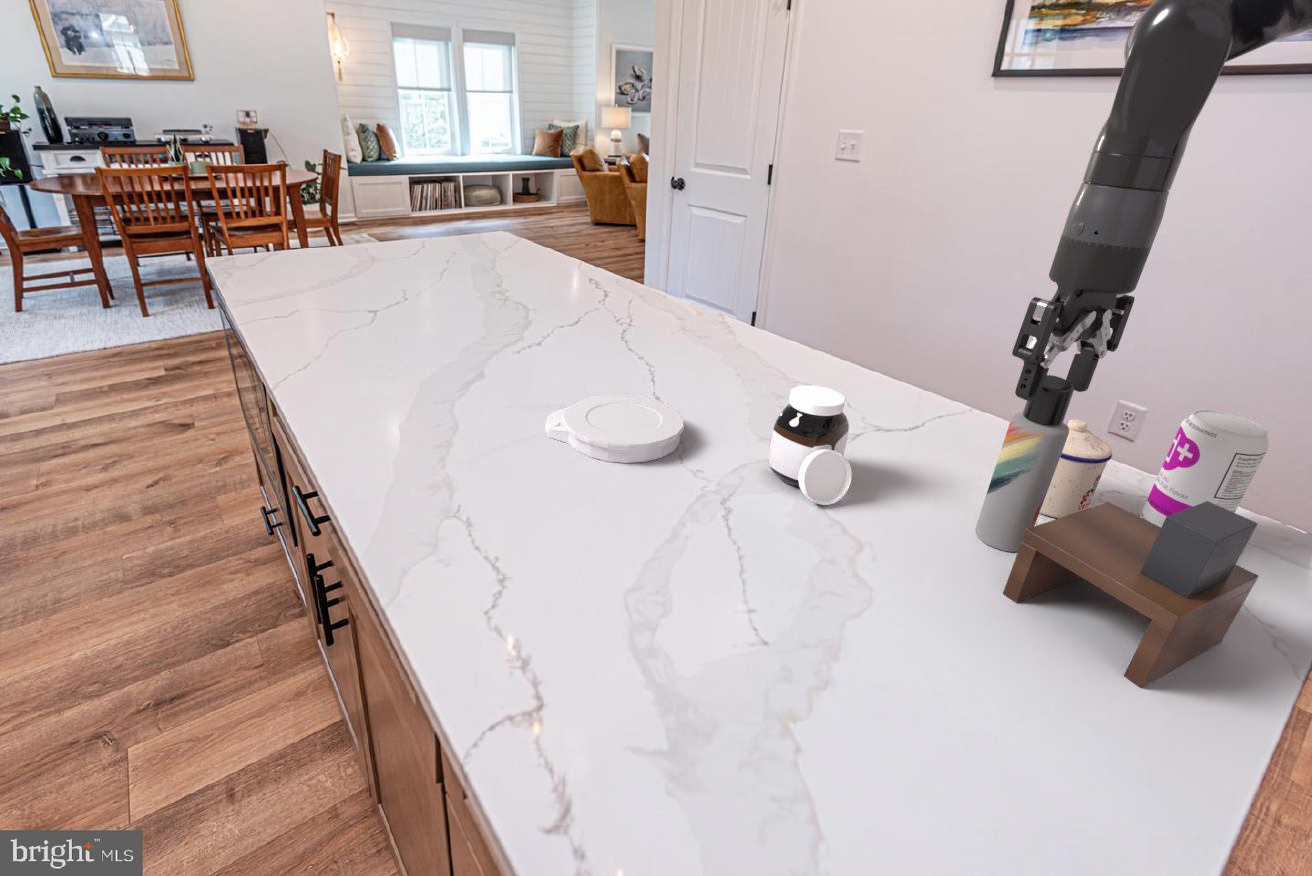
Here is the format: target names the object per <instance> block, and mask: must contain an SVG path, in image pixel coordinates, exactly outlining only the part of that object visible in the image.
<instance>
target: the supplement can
mask: <svg viewBox="0 0 1312 876" xmlns="http://www.w3.org/2000/svg"><path fill="white" fill-rule="evenodd" d="M1268 433H1269V430H1268V429H1267V428H1266V427H1265V426H1263V425H1261V424H1260V423H1258V422H1256V421H1253V420H1252V419H1249V418H1246V417H1242V416H1239V415H1236V414H1232V413H1228V412H1224V411H1218V410H1211V409H1210V410H1209V409H1198V410H1194V411H1193V413H1192V414H1191V415H1189V416H1187V417H1186V418H1185V419H1184V420H1182V421H1181V423H1180V426H1179V428H1178V430H1177V432H1176V435H1175V437H1174V439H1173V441H1172V444H1171V445H1170V448H1169V450H1168V452H1167V453H1166V456H1165V458H1164V460H1163V463H1162V466H1161V468H1160V470H1159V473H1158V474H1157V476H1156V479H1155V481H1154V484H1153V485H1152V488H1151V490H1150V493H1149V495H1148V497H1147V498H1146V501H1145V504H1144V506H1143V508H1142V510H1141V512H1140V515H1139V517H1140V518H1142V519H1144V520H1147V521H1149V522H1151V523H1153V524H1155V525H1157V526H1159V527H1162V525H1163V523H1164V521H1165V519H1166V517H1167V516H1170V515H1172V514H1175V513H1178V512H1180V511H1183V510H1185V509H1188V508H1191V507H1193V506H1196V505H1198V504H1201V503H1204V502H1206V501H1208V502H1211V503H1213V504H1215V505H1218V506H1220V507H1222V508H1224V509H1227V510H1229V511H1231V512H1233V513H1236V511H1237V509H1238V507H1239V505H1240V503H1241V502H1242V499H1243V498H1244V496H1245V493H1246V491H1247V490H1248V488H1249V486H1250V484H1251V482H1252V480H1253V479H1254V476H1255V474H1256V472H1257V471H1258V469H1259V467H1260V465H1261V463H1262V461H1263V460H1264V457H1265V456H1266V453H1267V452H1268V449H1269V446H1270V443H1269V439H1268Z"/></svg>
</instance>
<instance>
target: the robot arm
mask: <svg viewBox="0 0 1312 876" xmlns="http://www.w3.org/2000/svg"><path fill="white" fill-rule="evenodd" d="M1309 31H1312V0H1155V1H1153V3H1152V4H1150V5H1149V6H1148V7H1147V9H1146V10H1145V11H1144V12H1143V13H1142V14H1141V16H1139V18H1138V19H1137V20H1136V22H1134V24H1133V25H1132V27H1131V29H1130V30H1129V33H1128V35H1127V38H1126V40H1125V44H1124V48H1123V60H1124V67H1123V70H1122V73H1121V77H1120V78H1119V79H1120V80H1119V83H1118V86H1117V89H1116V93H1115V96H1114V99H1113V103H1112V106H1111V109H1110V113H1109V116H1108V117H1107V119H1106V120H1105V122H1104V124H1103V125H1102V127H1101V128H1100V131H1099V133H1098V135H1097V137H1096V139H1095V142H1094V145H1093V149H1092V151H1091V154H1090V156H1089V160H1088V163H1087V166H1086V168H1085V172H1084V175H1083V177H1082V178H1083V179H1082V182H1081V184H1080V186H1079V189H1078V191H1077V193H1076V195H1075V197H1074V200H1073V201H1072V203H1071V206H1070V208H1069V211H1068V214H1067V217H1066V219H1065V223H1064V226H1063V230H1062V233H1061V235H1060V238H1059V241H1058V245H1057V247H1056V251H1055V254H1054V257H1053V260H1052V263H1051V266H1050V270H1049V272H1048V278H1049V279H1050V281H1052V282H1053V283H1056V286H1057V289H1056V290H1055V293H1054V295H1053V297H1052V298H1051V299H1050V300H1047V299H1044V298H1041V297H1037V296H1034V297H1033V298H1031V300H1030V302H1029V304H1028V306H1027V309H1026V312H1025V314H1024V318H1023V320H1022V323H1021V326H1020V329H1019V332H1018V334H1017V337H1016V339H1015V343H1014V345H1013V349H1012V351H1011V353H1012V356H1013V357H1015V358H1018V359H1021V360H1022V361H1023V366H1022V369H1021V372H1020V375H1019V378H1018V381H1017V384H1016V387H1015V390H1014V391H1015V392H1014V394H1015V396H1016V397H1017V398H1020V399H1022V400H1024V401H1026V402H1027V401H1029V402H1032V401H1036V400H1038V399H1039V396H1040V393H1041V390H1042V387H1043V385H1044V382H1045V379H1046V376H1047V375H1048V373H1049V370H1050V366H1051V364H1052V363H1053V362H1054V361H1055V359H1056V358H1057V356H1059V354H1060V353H1063V352H1066V351H1068V350H1069V349H1070V348H1071V346H1072V345H1073V344H1074V343H1076V350H1077V352H1078V353H1074V356H1073V359H1072V361H1071V364H1070V367H1069V369H1068V373H1067V375H1066V378H1065V380H1067V381H1068V382H1069V383H1070V384H1073V385H1074V386H1075V389H1074V392H1075V391H1076V392H1078V393H1083V392H1087V391H1088V390H1089V388H1090V384H1091V383H1092V379H1093V376H1094V374H1095V372H1096V369H1097V366H1098V364H1099V361H1100V360H1102V359H1104V358H1105V357H1106V355H1107V353H1108V351H1109V352H1111V353H1114V352H1115V351H1117V350H1118V348H1119V345H1120V342H1121V340H1122V337H1123V334H1124V331H1125V328H1126V326H1127V322H1128V320H1129V317H1130V315H1131V311H1132V309H1133V306H1134V303H1135V300H1136V298H1135V297H1134V296H1132V295H1129V294H1131V293H1132V292H1134V291H1136V289H1137V286H1138V284H1139V281H1140V278H1141V276H1142V273H1143V270H1144V268H1145V265H1146V263H1147V260H1148V257H1149V255H1150V253H1151V250H1152V247H1153V245H1154V242H1155V240H1156V237H1157V234H1158V233H1159V232H1158V231H1159V229H1160V226H1161V225H1162V221H1163V218H1164V214H1165V210H1166V206H1167V202H1168V197H1169V195H1170V191H1171V189H1172V186H1173V184H1174V181H1175V178H1176V176H1177V173H1178V171H1179V168H1180V165H1181V163H1182V159H1183V158H1184V155H1185V151H1186V149H1187V145H1188V142H1189V138H1190V135H1191V133H1192V130H1193V128H1194V125H1195V124H1196V122H1197V120H1198V117H1199V116H1200V114H1201V112H1202V111H1203V109H1204V107H1205V105H1206V103H1207V101H1208V99H1209V97H1210V95H1211V93H1212V91H1213V89H1214V87H1215V85H1216V83H1217V81H1218V79H1219V76H1220V75H1221V73H1222V70H1223V68H1224V66H1225V64H1226V63H1228V62H1230V61H1232V60H1235V59H1237V58H1239V57H1241V56H1243V55H1246V54H1248V53H1251V52H1253V51H1254V50H1258V49H1260V48H1263V47H1264V46H1266V45H1269V44H1271V43H1274V42H1276V41H1278V40H1281V39H1285V38H1288V37H1289V38H1290V37H1292V36H1297V35H1299V34H1303V33H1307V32H1309ZM1111 329H1112V332H1111ZM1030 336H1031V337H1032V338H1033V339H1032V340H1031V342H1030V343H1029V345H1028V342H1029V340H1030ZM1027 345H1028V346H1027ZM1047 347H1048V349H1047ZM1045 351H1046V352H1045Z"/></svg>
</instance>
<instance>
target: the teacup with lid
mask: <svg viewBox="0 0 1312 876" xmlns="http://www.w3.org/2000/svg"><path fill="white" fill-rule="evenodd" d="M1065 424H1066V425H1067V426H1068V428H1069V434H1068V437H1067V440H1066V443H1065V446H1064V448H1063V451H1062V454H1061V456H1060V459H1059V462H1058V465H1057V467H1056V470H1055V473H1054V475H1053V478H1052V481H1051V483H1050V486H1049V489H1048V491H1047V494H1046V497H1045V499H1044V502H1043V505H1042V507H1041V510H1040V513H1039V515H1043V516H1047V517H1050V518H1055V519H1058V518H1061V517H1064V516H1067V515H1070V514H1073V513H1076V512H1079V511H1082V510H1085V509H1088V508H1090V505H1091V502H1092V500H1093V498H1094V496H1095V492H1096V490H1097V488H1098V485H1099V483H1100V481H1101V478H1102V475H1103V473H1104V471H1105V468H1106V466H1107V463H1108V462H1110V460H1112V457H1113V450H1112V448H1111V446H1110V444H1109V443H1108V442H1107V441H1105V440H1104V439H1102V438H1101V437H1098V436H1097V435H1095V434H1094V433H1093V432H1091V430H1089V429H1087V428H1088V424H1087V422H1086V421H1085V420H1082V419H1078V418H1077V419H1076V418H1072V419H1070V420H1068V422H1067V423H1065Z"/></svg>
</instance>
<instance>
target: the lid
mask: <svg viewBox="0 0 1312 876" xmlns="http://www.w3.org/2000/svg"><path fill="white" fill-rule="evenodd" d="M684 428H685V419H684V417H683V415H682V414H681V413H680V411H679V410H677V409H676V408H675V407H673V406H672V405H670V404H668V403H665V402H663V401H660V400H658V399H655V398H651V397H647V396H641V395H635V394H621V393H616V394H600V395H595V396H589V397H586V398H584V399H583V398H582V399H581V400H578V401H576V402H573V404H571V405H570V406H566V407H564V408H560V409H558V410H555V411H553V412H552V413H550V414H549V415H548V416H547V417H546V420H545V429H544V430H545V432H546V434H547V436H548V438H550V439H553V440H556V441H559V442H562V443H566V444H569V445H570V446H571V447H572V448H573V449H575V450H576V452H578V453H581V454H582V455H585V456H587V457H589V458H591V459H596V460H600V461H604V462H608V463H618V464H619V463H620V464H633V463H634V464H635V463H646V462H651V461H655V460H658V459H659V460H660V459H662V458H664V457H666V456H667V455H670V454H672V453H673V452H674V451H675V450H676V448H677V447H679V445H680V442H681V441H680V439H681V434H682V433H683V432H684V431H685V430H684Z"/></svg>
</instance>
